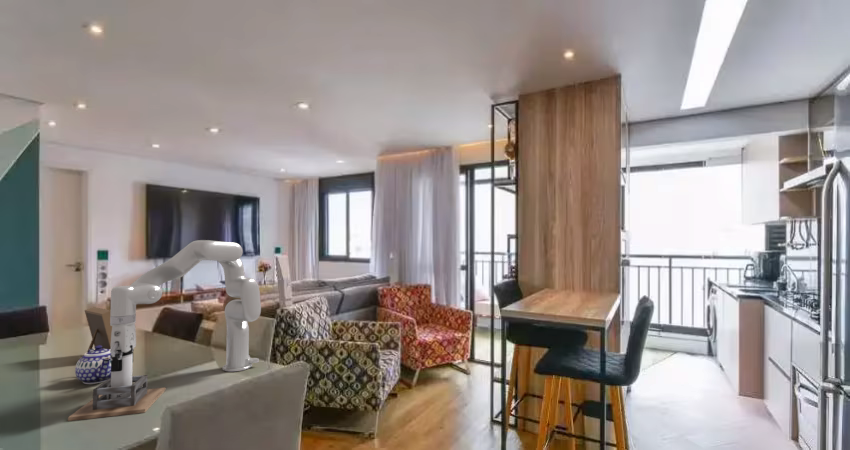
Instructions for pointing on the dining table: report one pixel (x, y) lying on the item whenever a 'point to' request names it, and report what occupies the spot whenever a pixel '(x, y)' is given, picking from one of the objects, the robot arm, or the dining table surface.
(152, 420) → the dining table surface
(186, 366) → the dining table surface
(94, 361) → the teapot
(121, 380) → the travel mug
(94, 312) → the photo frame
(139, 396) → the collar stand
